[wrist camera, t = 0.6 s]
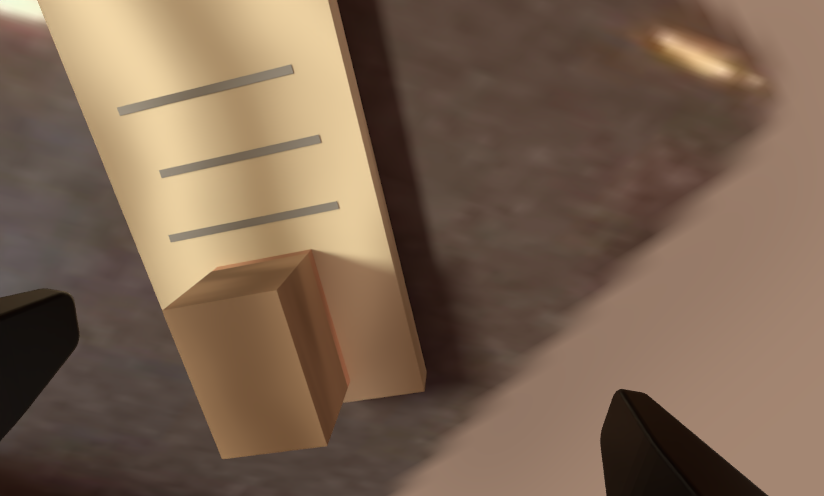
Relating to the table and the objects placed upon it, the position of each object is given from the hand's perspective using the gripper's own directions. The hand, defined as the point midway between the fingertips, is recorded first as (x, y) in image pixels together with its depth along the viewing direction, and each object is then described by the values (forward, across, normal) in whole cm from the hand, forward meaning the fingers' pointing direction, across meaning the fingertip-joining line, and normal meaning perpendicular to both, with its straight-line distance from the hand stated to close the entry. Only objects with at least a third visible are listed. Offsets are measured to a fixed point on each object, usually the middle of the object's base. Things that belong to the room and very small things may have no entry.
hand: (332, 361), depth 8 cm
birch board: (+12, +6, +2) cm, 14 cm away
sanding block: (+11, +4, +7) cm, 13 cm away
